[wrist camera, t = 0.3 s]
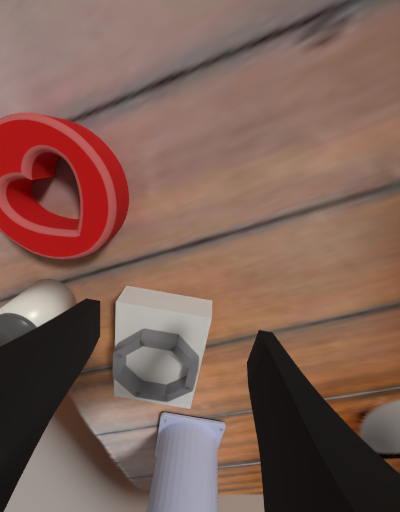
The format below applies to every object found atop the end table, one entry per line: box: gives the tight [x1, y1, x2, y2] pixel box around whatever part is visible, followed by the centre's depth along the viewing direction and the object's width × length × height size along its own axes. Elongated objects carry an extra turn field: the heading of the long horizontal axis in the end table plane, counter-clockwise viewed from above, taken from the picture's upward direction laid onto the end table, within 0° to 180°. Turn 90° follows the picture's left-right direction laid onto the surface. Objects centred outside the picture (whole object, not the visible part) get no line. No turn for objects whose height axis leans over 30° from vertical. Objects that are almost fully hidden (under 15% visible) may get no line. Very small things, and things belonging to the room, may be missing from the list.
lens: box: [0, 279, 76, 346], centre depth 20 cm, size 4×4×5 cm
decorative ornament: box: [0, 113, 129, 260], centre depth 17 cm, size 10×10×3 cm
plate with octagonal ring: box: [113, 286, 212, 409], centre depth 22 cm, size 12×8×4 cm, turn 170°
